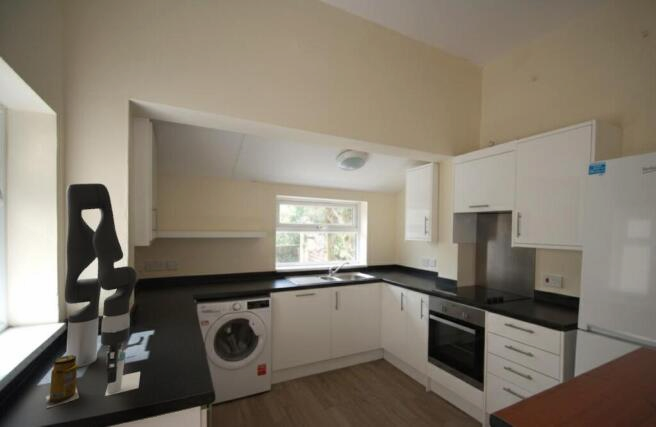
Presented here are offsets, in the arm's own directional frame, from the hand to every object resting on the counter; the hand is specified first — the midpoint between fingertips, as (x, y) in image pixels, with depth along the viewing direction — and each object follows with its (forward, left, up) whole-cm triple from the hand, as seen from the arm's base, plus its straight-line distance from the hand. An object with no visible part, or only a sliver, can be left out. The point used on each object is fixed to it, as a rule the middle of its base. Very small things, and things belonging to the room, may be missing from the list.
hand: (113, 375), depth 92 cm
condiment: (-4, -13, -5) cm, 15 cm away
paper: (-4, +3, -5) cm, 7 cm away
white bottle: (0, +1, -5) cm, 5 cm away
